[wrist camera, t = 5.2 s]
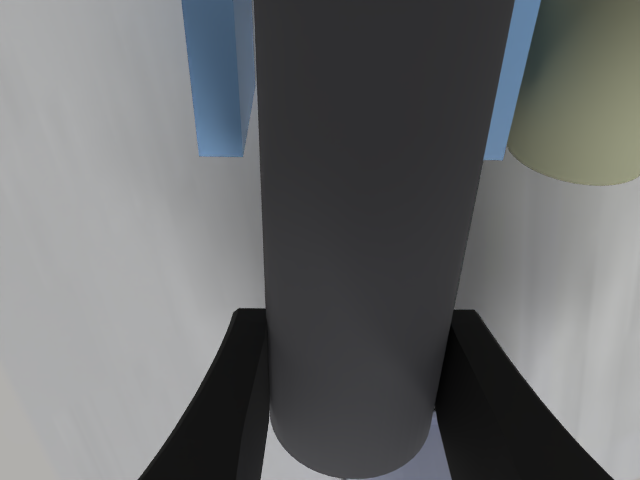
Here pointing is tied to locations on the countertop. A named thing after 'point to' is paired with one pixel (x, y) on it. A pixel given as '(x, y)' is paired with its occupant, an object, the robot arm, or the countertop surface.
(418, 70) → the dark grey cylinder
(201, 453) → the robot arm
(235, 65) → the rectangular blocks
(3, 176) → the countertop surface
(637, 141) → the olive yellow cylinder
